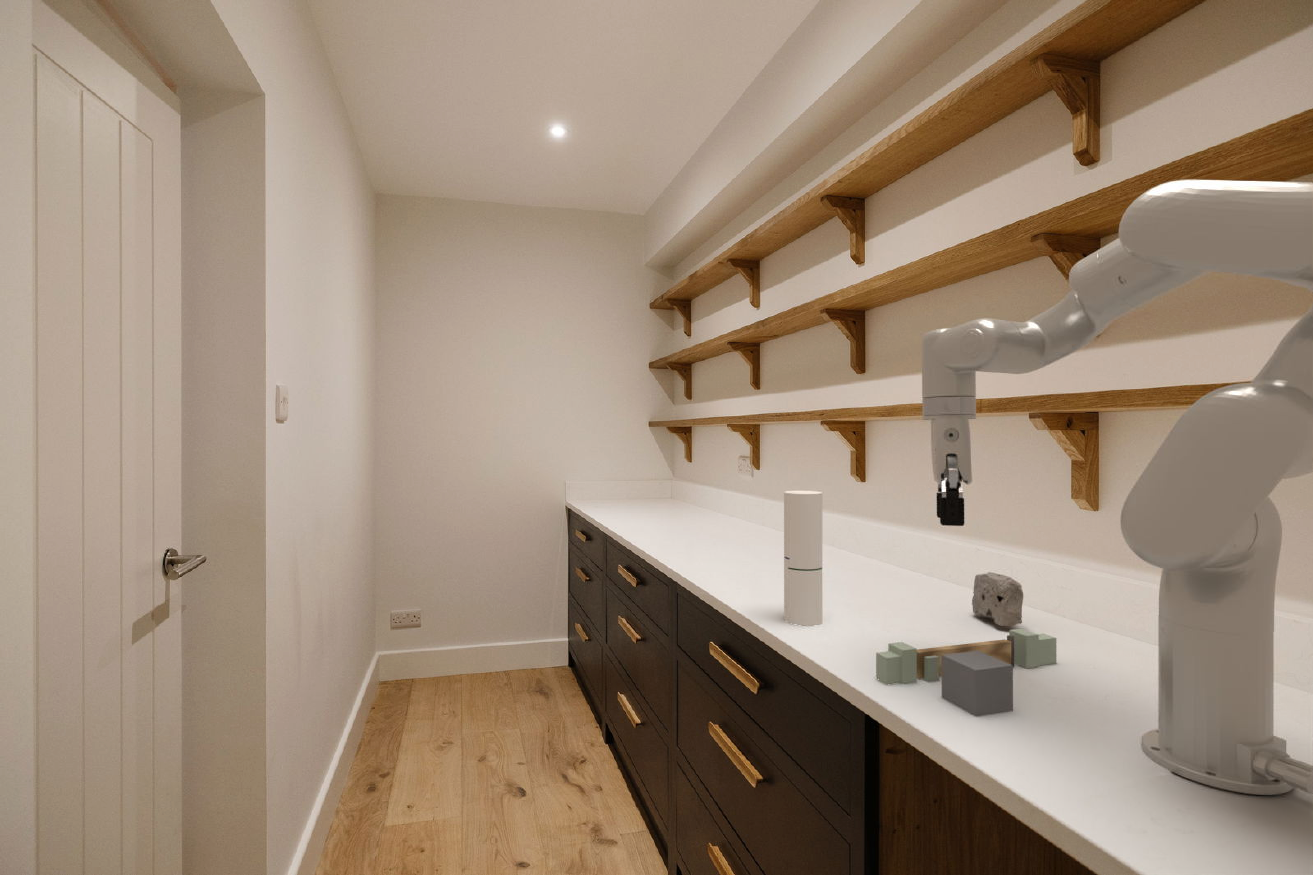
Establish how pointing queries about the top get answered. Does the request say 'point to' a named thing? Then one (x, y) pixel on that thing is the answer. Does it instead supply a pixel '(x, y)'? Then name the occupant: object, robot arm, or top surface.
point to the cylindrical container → (803, 557)
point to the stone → (998, 598)
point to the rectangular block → (977, 683)
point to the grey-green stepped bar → (903, 658)
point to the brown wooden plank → (992, 648)
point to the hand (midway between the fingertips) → (949, 521)
